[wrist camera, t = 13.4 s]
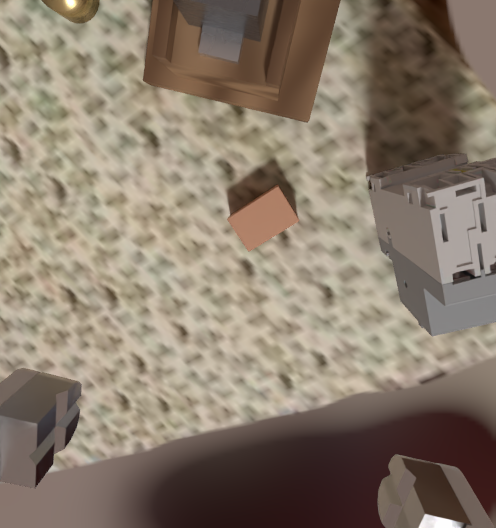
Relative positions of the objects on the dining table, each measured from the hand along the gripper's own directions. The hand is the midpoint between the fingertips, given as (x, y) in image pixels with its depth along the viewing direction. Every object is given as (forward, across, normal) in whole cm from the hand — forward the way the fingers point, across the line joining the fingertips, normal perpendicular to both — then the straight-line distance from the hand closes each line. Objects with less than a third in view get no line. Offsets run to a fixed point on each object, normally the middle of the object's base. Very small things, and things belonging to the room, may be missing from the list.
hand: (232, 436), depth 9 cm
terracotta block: (+31, 0, -1) cm, 31 cm away
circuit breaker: (+31, -16, -3) cm, 35 cm away
